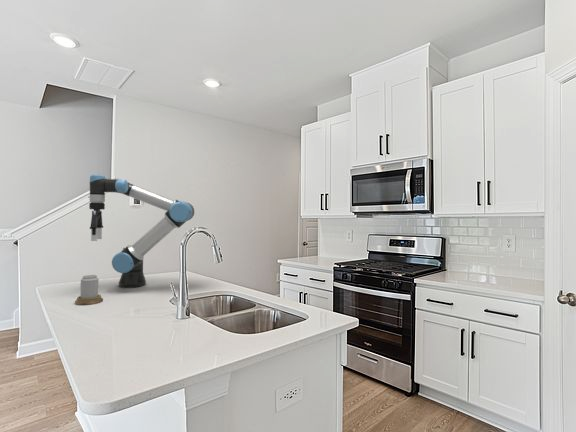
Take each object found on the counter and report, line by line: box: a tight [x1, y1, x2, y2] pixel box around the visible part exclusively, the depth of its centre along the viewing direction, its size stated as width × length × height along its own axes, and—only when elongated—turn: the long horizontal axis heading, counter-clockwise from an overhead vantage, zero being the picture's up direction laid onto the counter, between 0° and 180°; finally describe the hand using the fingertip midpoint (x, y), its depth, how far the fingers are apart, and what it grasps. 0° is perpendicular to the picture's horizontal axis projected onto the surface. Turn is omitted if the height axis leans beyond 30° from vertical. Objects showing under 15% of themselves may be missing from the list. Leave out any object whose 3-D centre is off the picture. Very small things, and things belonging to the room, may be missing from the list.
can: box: [80, 274, 99, 299], centre depth 166 cm, size 8×8×12 cm
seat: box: [74, 293, 104, 306], centre depth 166 cm, size 12×12×3 cm
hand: (96, 240), depth 190 cm, fingers open, 13 cm apart
